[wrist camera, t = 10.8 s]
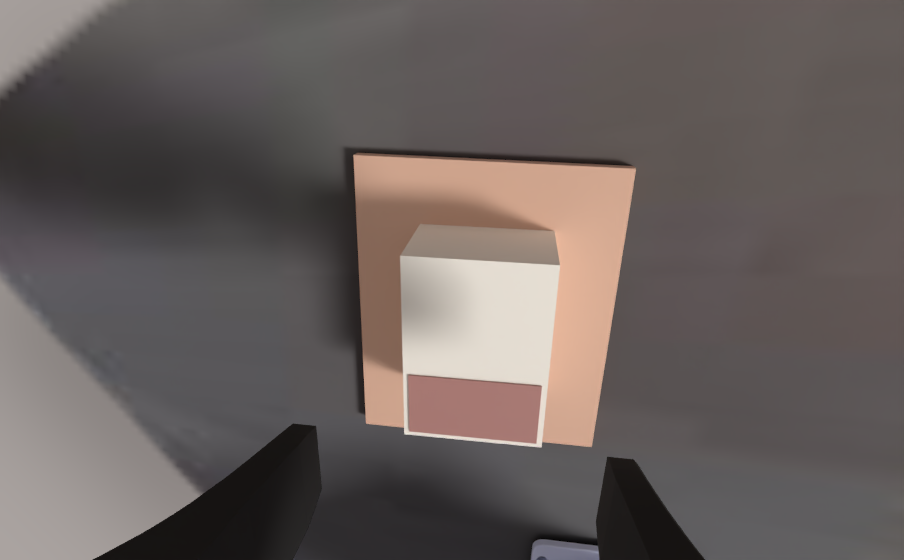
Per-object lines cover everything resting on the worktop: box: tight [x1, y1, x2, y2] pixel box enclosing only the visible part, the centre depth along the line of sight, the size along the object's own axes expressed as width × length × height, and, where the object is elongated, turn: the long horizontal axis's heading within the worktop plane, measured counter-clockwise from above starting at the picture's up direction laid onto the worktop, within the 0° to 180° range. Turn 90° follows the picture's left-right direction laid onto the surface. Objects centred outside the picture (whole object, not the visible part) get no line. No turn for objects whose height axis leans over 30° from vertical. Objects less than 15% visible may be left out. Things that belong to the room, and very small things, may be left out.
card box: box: [400, 224, 560, 447], centre depth 20 cm, size 5×7×4 cm
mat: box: [353, 153, 636, 447], centre depth 21 cm, size 12×10×1 cm
